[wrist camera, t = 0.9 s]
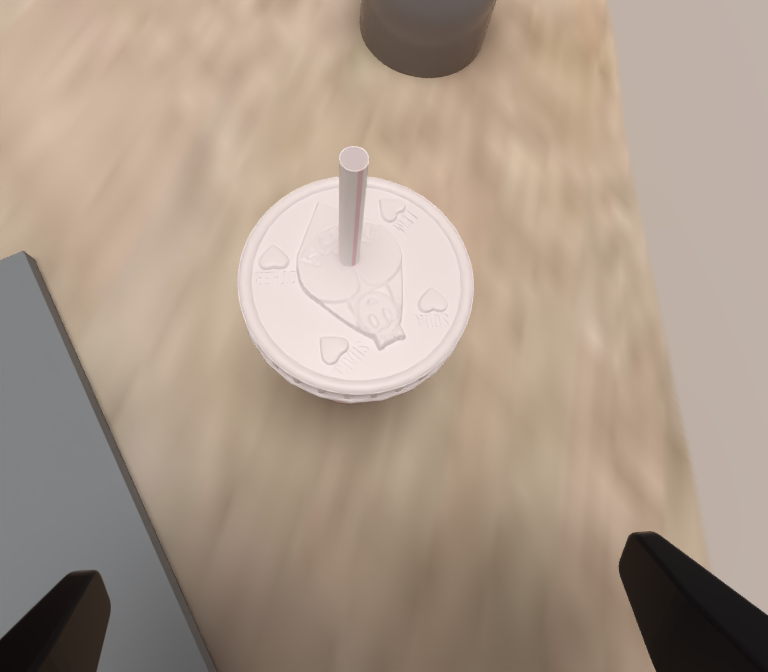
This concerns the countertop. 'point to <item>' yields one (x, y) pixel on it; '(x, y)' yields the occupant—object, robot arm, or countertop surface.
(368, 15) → the grey rounded canister
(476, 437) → the countertop surface
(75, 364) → the slate mat
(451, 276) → the smoothie
